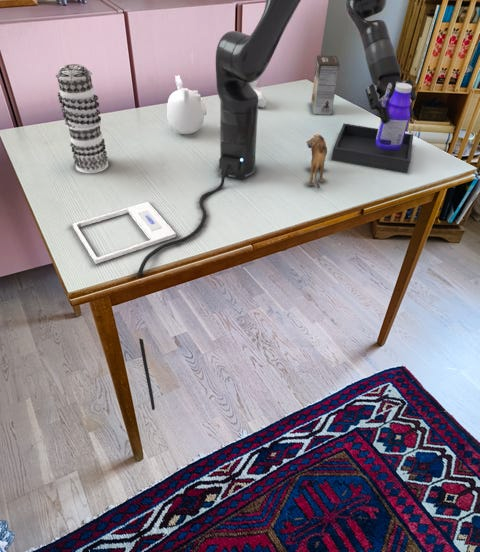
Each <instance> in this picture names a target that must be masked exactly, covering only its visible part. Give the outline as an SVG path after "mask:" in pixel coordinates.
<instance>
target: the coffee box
mask: <svg viewBox="0 0 480 552" xmlns="http://www.w3.org/2000/svg"><path fill="white" fill-rule="evenodd" d="M340 66H341V65H340V62H339V59H338V57H337V55H324V54H323V55H322V54H321V55H319V54H318V55H316V62H315V70H314V78H313V84H312V85H313V86H312V93H311V101H310V105H311V111H312V114H313V115H330V116H331V115H332V113H333V108H334V101H335V94H336V90H337V89H336V88H337V84H338V83H337V82H338V76H339V70H340Z"/></svg>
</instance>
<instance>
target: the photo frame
mask: <svg viewBox="0 0 480 552" xmlns="http://www.w3.org/2000/svg"><path fill="white" fill-rule="evenodd" d="M125 214H129V216H130V217H131V218H132V219H133V220H134V222H135V223H136V224H137V225H138V227H139V228H140V229H141V230H142V232H143V233H144V234H145V235H146V237H147V238H148V240H146V241H143V242H140V243H137V244H134V245H131V246H127V247H125V248H122V249H119V250H116V251H112V252H110V253H106V254H103V255H101V256H97V255H96V254H95V252H94V250H93V249H92V247H91V245H90V243H88V240H87V239H86V237H85V236H84V234H83V233H82V231H81V230H80V228H81V227H85V226H88V225H91V224H95V223H98V222H102V221H105V220H108V219H112V218H115V217H119V216H122V215H125ZM71 225H72V228H73V230H74V231H75V233H76V234H77V236H78V238H79V239H80V241H81V242H82V244H83V246H84V247H85V249H86V251H87V252H88V254H89V256H90V257H91V258H92V260H93V262H94V264H95V265H97V264H100V263H103V262H106V261H110V260H111V259H114V258H117V257H120V256H123V255H124V256H125V255H127V254H130V253H132V252H135V251H139V250H141V249H144V248H147V247H150V246H153V245H156V244H160V243H162V242H165V241H168V240H172V239H174V238H176V237H177V233H176V232H175V231H174V229H173V228H172V227H171V226H170V225H169V224H168V223H167V221H166V220H165V219H164V218H163V217H162V216H161V215H160V214H159V212H158V211H157V210H156V209H155V208H154V207H153V206H152V205H151V203H150V202H149V201H145V202H142V203H138V204H135V205H132V206H128V207H125V208H123V209H121V208H120V209H118V210H115V211H112V212H108V213H105V214H101V215H98V216H94V217H92V218H87V219H84V220H80V221H78V222H74V223H72V224H71Z"/></svg>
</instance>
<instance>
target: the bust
mask: <svg viewBox="0 0 480 552" xmlns="http://www.w3.org/2000/svg"><path fill="white" fill-rule="evenodd" d="M258 82H259V78H258V79H257V80H256V81H254V82H250V85H251V87H252V88H253V89H254V91H255V92H256V93H257V95H258V108H264V107H265V106H266V104H267V103H266V101H267V100H266V96H265V94H264V92H262V91H261V90H260V88H259V87H258V86H257V84H258Z"/></svg>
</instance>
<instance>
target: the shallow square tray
mask: <svg viewBox="0 0 480 552" xmlns="http://www.w3.org/2000/svg"><path fill="white" fill-rule="evenodd" d="M378 129H379V128H376V127H369V126H362V125H356V124H351V123H344V122H343V123H342V125H341V129H340V130H339V133H338V136H337V138H336V141H335V143H334V145H333V149H332V155H331V161H336V162H342V163H348V164H352V165H360V166H365V167H370V168H375V169H382V170H387V171H393V172H397V173H398V172H399V173H404V174H407V173H408V170H409V166H410V163H411V160H412V159H411V158H412V151H413V142H414V141H413V140H414V134H413V133H407V132H405V135H404V139H403V142H402V145H401V147H400V148H399V149H398V150H396V151H388V150H381V149H379V148H378V147H377V145H376V137H377V133H378Z"/></svg>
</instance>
